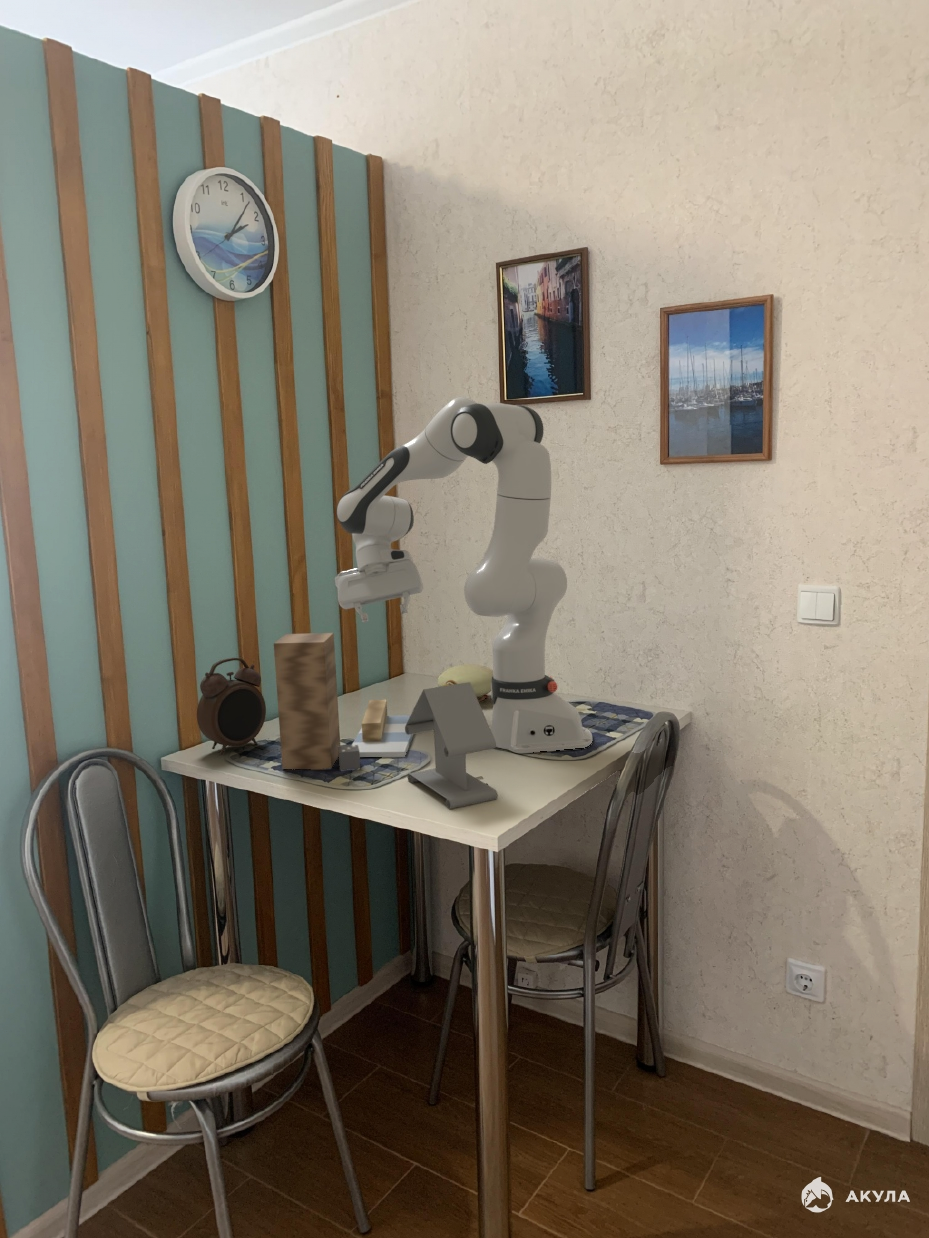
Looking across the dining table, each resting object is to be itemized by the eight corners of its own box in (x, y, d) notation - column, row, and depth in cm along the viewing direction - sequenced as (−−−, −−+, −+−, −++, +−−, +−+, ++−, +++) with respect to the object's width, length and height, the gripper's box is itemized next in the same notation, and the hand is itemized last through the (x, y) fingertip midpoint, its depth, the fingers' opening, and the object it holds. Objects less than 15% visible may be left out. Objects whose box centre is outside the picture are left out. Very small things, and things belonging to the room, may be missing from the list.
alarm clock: (216, 760, 197) (208, 667, 194) (197, 753, 202) (189, 662, 199) (273, 743, 208) (267, 654, 205) (254, 737, 213) (247, 651, 209)
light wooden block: (387, 715, 223) (386, 699, 222) (381, 740, 203) (380, 722, 202) (370, 716, 222) (369, 700, 222) (362, 741, 203) (361, 723, 202)
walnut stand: (340, 753, 199) (333, 632, 194) (331, 769, 189) (323, 642, 185) (294, 754, 199) (285, 634, 195) (282, 769, 190) (273, 643, 185)
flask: (510, 696, 241) (472, 716, 226) (458, 690, 250) (419, 709, 235) (508, 661, 239) (470, 679, 224) (456, 656, 248) (416, 673, 233)
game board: (418, 720, 222) (418, 715, 222) (405, 757, 195) (404, 751, 195) (368, 720, 223) (368, 716, 223) (347, 758, 196) (347, 752, 195)
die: (359, 763, 192) (357, 743, 191) (360, 770, 188) (359, 749, 187) (339, 765, 191) (338, 745, 191) (340, 771, 187) (339, 751, 187)
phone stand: (497, 800, 169) (494, 691, 165) (450, 810, 164) (446, 699, 161) (451, 772, 185) (447, 672, 181) (407, 781, 180) (402, 679, 177)
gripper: (330, 568, 222) (338, 621, 217) (414, 549, 221) (424, 602, 216) (336, 578, 228) (344, 630, 223) (418, 560, 227) (428, 612, 222)
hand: (384, 616), depth 220 cm, fingers open, 8 cm apart
